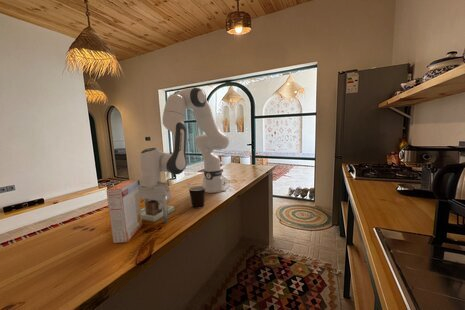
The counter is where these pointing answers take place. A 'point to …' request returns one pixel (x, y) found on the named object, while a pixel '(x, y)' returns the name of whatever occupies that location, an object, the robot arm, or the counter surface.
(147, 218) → the sage dish
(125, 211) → the cracker box
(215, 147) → the robot arm
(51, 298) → the counter surface
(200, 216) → the counter surface
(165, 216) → the rod
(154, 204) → the walnut block
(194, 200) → the coffee mug
